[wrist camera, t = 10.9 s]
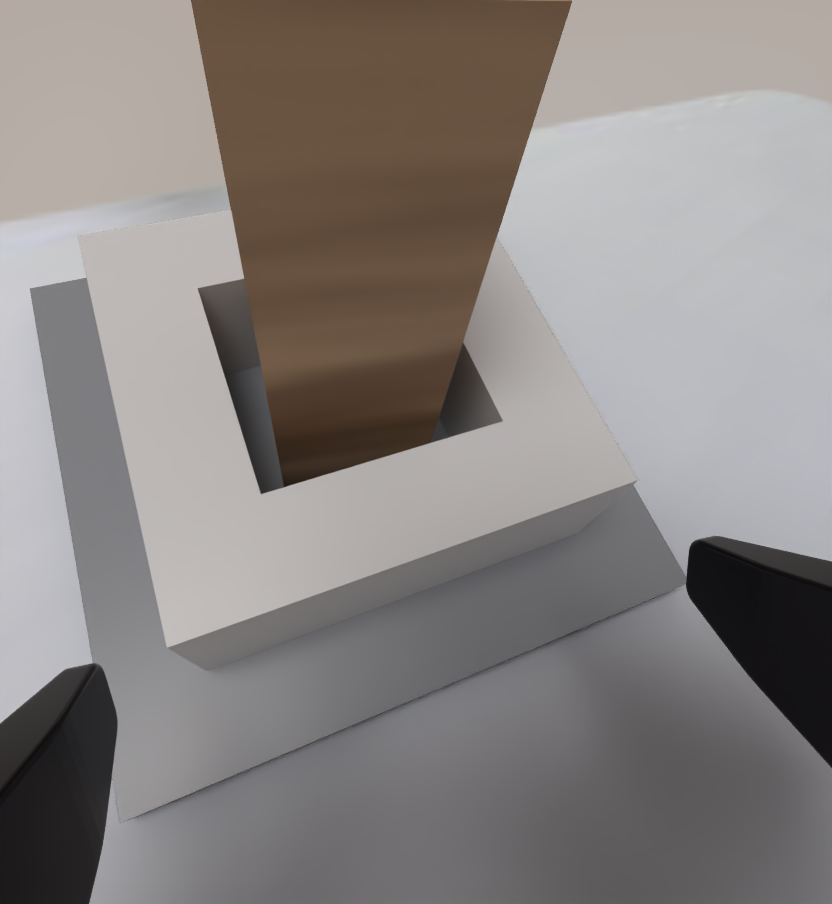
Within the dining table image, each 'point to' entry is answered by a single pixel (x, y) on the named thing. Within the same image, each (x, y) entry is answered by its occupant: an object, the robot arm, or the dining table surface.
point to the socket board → (314, 670)
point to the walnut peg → (368, 197)
